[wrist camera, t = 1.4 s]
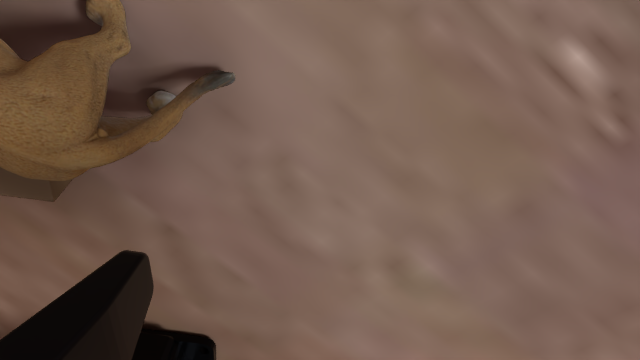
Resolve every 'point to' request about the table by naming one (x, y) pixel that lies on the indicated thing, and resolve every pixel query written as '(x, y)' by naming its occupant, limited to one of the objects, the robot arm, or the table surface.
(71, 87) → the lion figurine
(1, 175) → the channel
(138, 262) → the robot arm
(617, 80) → the table surface
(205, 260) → the table surface
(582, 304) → the table surface
